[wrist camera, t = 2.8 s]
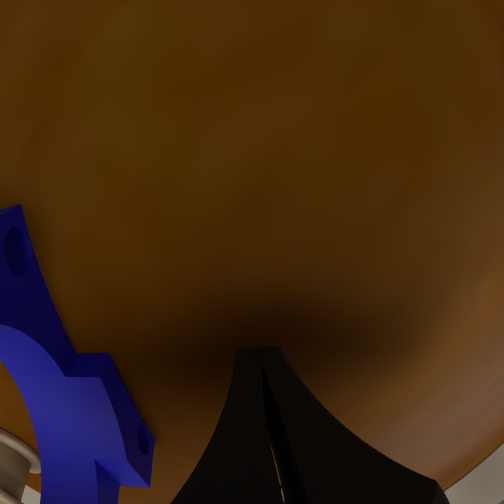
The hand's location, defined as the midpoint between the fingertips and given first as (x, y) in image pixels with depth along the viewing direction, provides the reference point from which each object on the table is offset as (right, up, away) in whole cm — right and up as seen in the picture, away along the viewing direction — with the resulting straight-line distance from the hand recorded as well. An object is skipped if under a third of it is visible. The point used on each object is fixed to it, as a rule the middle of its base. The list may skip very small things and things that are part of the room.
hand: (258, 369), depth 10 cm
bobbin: (-17, -10, +3) cm, 20 cm away
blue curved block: (-8, 0, +1) cm, 8 cm away
